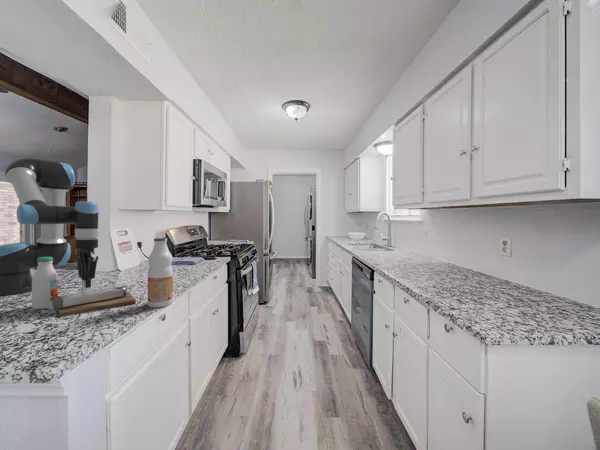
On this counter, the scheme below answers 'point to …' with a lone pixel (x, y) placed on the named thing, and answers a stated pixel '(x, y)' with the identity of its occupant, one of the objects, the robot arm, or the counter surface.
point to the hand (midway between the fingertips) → (86, 295)
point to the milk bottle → (44, 284)
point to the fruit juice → (160, 275)
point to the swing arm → (87, 297)
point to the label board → (98, 305)
